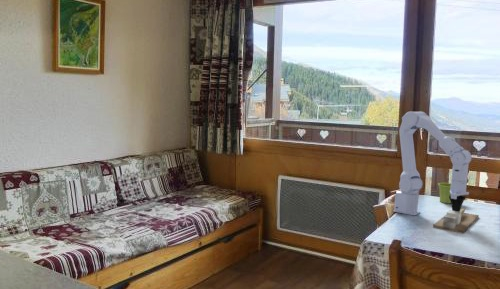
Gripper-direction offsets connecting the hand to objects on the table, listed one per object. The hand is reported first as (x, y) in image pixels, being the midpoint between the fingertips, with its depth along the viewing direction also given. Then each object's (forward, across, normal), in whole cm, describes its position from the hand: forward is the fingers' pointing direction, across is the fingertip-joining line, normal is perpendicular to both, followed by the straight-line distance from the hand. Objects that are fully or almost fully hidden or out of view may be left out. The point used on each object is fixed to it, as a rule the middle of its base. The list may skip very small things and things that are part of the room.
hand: (455, 213), depth 187 cm
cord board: (+4, +4, 0) cm, 6 cm away
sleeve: (+3, -3, 0) cm, 5 cm away
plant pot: (+4, +38, +12) cm, 41 cm away
